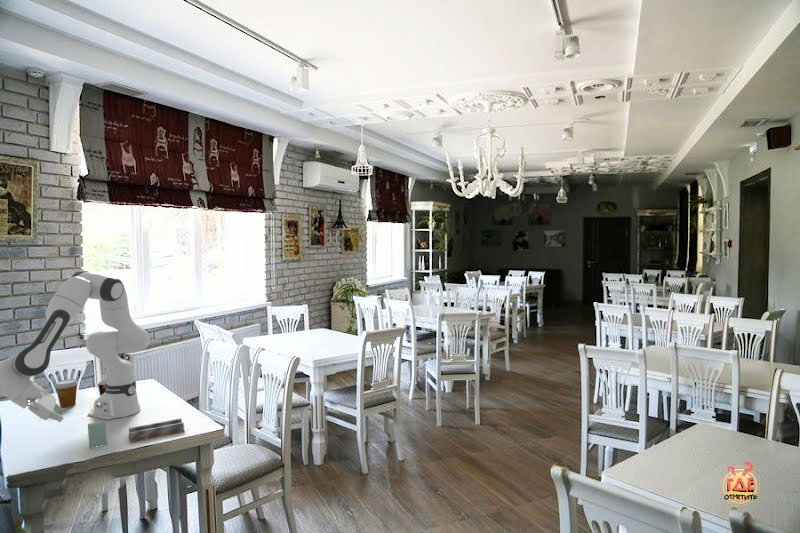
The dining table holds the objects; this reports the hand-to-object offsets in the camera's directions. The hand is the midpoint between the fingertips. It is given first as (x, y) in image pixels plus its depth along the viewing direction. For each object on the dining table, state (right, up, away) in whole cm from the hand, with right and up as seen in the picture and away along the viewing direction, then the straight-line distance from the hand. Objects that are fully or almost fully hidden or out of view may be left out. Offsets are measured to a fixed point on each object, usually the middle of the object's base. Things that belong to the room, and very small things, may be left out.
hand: (62, 416), depth 201 cm
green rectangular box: (+10, -13, +6) cm, 18 cm away
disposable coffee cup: (-34, -11, +57) cm, 67 cm away
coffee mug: (-16, -11, +60) cm, 63 cm away
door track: (+28, -12, +17) cm, 35 cm away
